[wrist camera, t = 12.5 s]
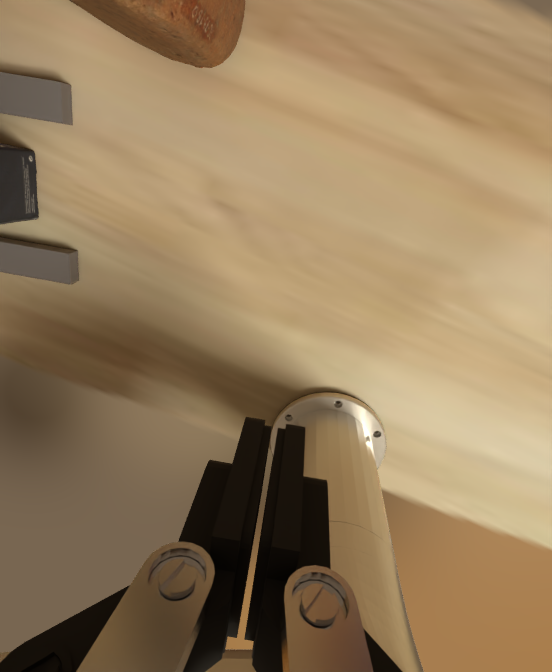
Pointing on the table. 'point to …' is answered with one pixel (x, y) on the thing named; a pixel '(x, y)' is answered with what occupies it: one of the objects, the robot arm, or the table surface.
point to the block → (175, 26)
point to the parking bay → (46, 105)
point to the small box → (17, 184)
